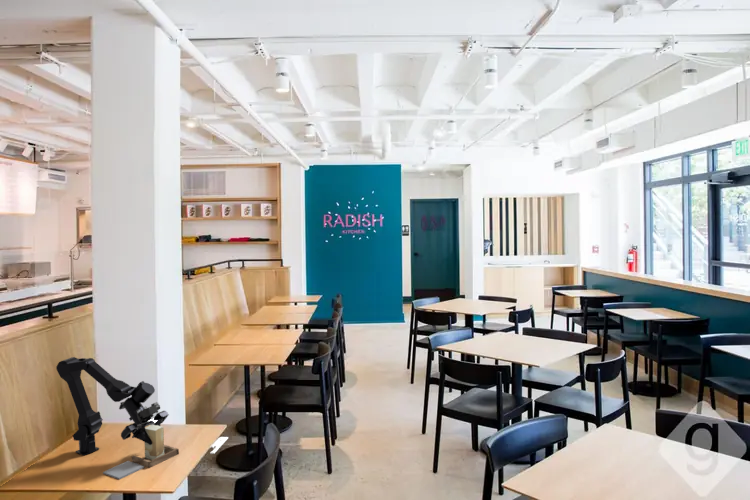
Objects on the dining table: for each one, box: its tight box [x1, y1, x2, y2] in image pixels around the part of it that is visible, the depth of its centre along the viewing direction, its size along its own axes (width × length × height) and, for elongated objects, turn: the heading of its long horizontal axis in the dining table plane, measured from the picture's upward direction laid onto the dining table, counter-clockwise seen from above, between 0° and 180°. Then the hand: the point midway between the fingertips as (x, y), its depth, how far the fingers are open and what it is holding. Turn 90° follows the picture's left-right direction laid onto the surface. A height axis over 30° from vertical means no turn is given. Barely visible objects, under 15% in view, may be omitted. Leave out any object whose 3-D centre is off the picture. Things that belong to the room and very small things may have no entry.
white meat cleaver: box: [209, 436, 229, 455], centre depth 206 cm, size 5×15×1 cm, turn 175°
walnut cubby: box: [131, 444, 180, 468], centre depth 197 cm, size 11×13×2 cm
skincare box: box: [143, 425, 165, 461], centre depth 197 cm, size 6×4×12 cm
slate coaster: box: [102, 460, 145, 480], centre depth 187 cm, size 10×10×1 cm
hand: (156, 441), depth 196 cm, fingers closed on skincare box, 4 cm apart
